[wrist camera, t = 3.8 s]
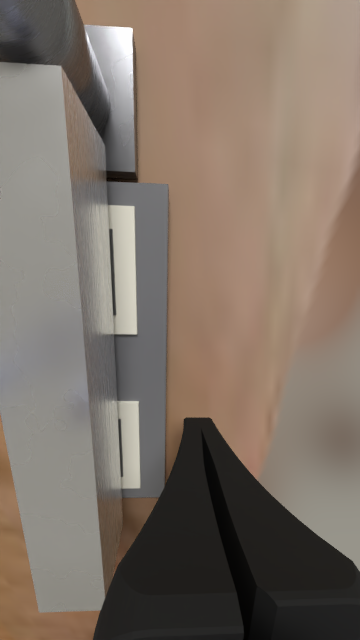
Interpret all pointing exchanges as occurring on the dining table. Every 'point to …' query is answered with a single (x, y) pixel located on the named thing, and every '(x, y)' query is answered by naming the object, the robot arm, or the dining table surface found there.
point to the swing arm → (58, 337)
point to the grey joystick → (81, 68)
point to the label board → (140, 330)
